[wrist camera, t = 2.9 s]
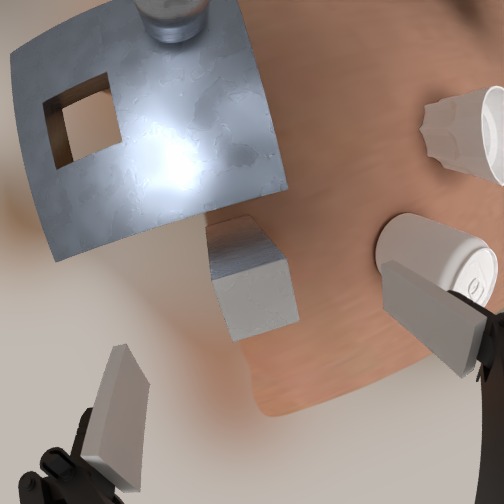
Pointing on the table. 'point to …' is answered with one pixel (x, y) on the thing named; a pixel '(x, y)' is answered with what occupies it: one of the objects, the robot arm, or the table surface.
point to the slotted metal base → (144, 119)
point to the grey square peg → (249, 278)
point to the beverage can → (440, 255)
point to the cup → (468, 133)
